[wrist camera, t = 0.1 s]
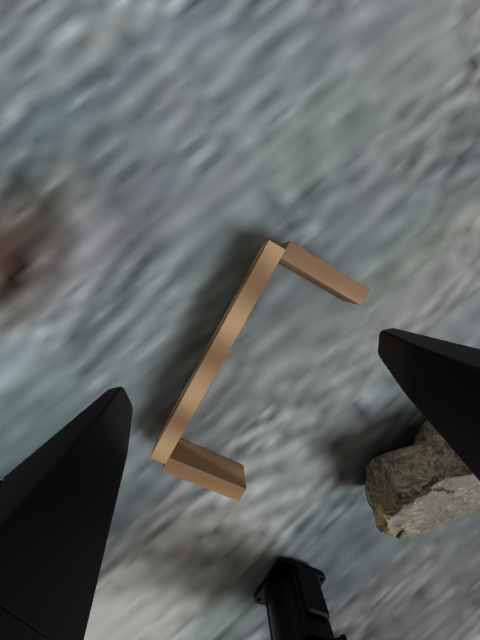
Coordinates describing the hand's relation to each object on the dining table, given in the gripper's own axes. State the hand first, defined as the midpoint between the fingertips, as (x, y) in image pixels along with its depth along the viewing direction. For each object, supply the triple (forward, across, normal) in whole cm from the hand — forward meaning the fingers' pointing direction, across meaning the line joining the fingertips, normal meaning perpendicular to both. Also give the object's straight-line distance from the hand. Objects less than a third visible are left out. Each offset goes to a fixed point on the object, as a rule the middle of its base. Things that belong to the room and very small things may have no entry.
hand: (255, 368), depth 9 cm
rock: (+10, -17, +24) cm, 31 cm away
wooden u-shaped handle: (+13, -1, +10) cm, 17 cm away
